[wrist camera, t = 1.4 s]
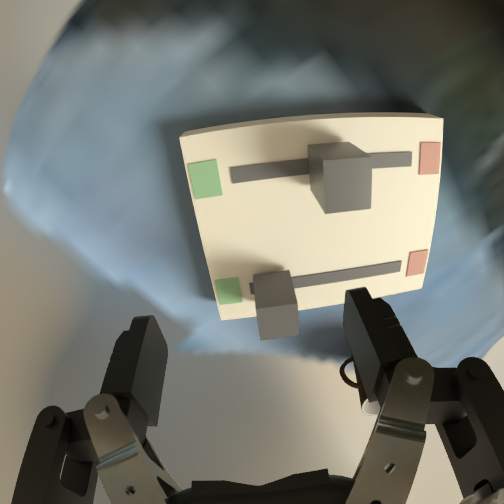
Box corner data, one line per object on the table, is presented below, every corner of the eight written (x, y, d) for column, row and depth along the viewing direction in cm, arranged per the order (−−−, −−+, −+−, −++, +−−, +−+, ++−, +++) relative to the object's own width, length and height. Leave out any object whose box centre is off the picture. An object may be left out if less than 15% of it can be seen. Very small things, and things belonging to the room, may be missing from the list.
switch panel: (426, 113, 26) (444, 119, 23) (411, 274, 36) (422, 289, 34) (184, 131, 27) (178, 137, 24) (222, 302, 37) (221, 321, 34)
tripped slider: (348, 141, 24) (372, 157, 20) (349, 185, 26) (371, 208, 22) (307, 144, 24) (323, 160, 20) (310, 189, 26) (325, 214, 22)
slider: (289, 269, 31) (297, 303, 26) (291, 300, 33) (299, 335, 29) (252, 274, 31) (255, 309, 27) (257, 305, 33) (260, 340, 29)
